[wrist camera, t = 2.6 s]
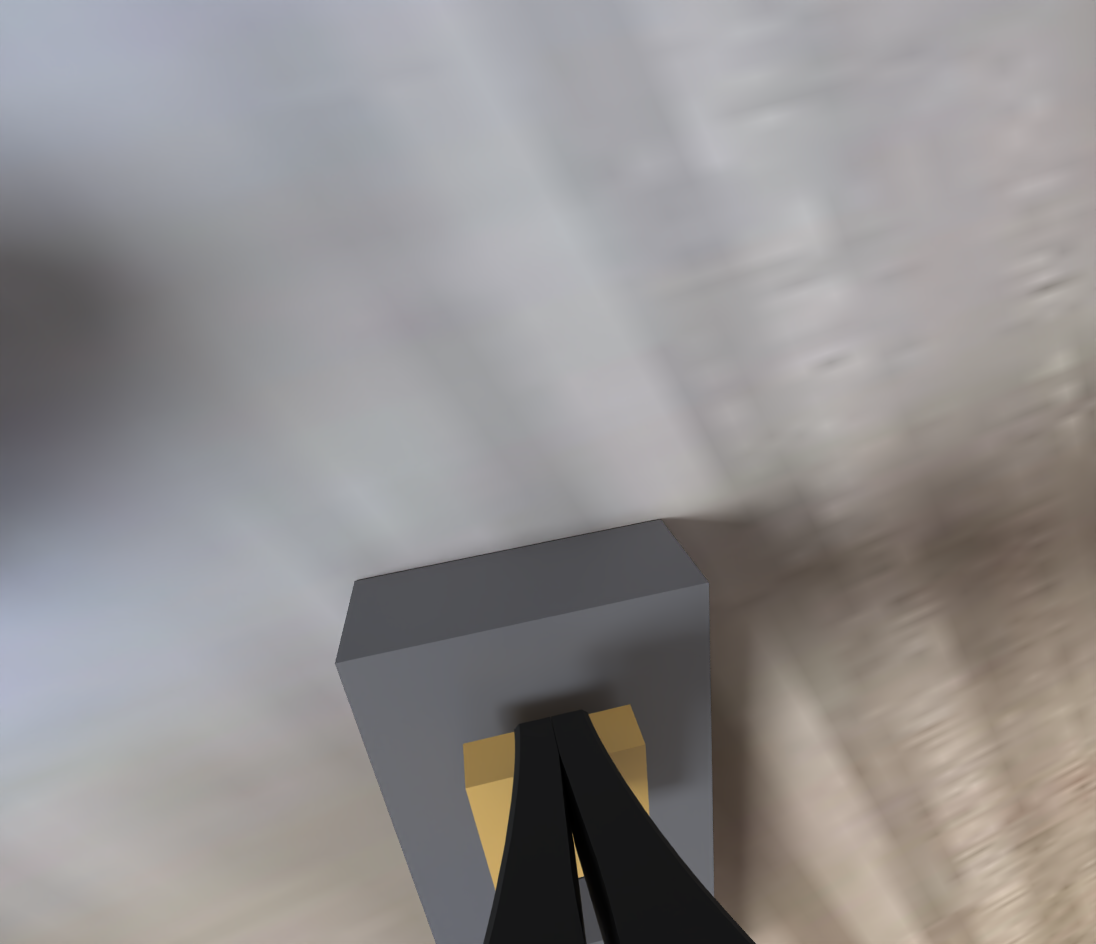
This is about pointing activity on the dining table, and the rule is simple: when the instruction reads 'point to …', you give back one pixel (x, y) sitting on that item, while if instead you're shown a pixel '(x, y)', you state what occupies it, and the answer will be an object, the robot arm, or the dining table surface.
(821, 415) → the dining table surface
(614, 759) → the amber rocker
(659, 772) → the power strip
